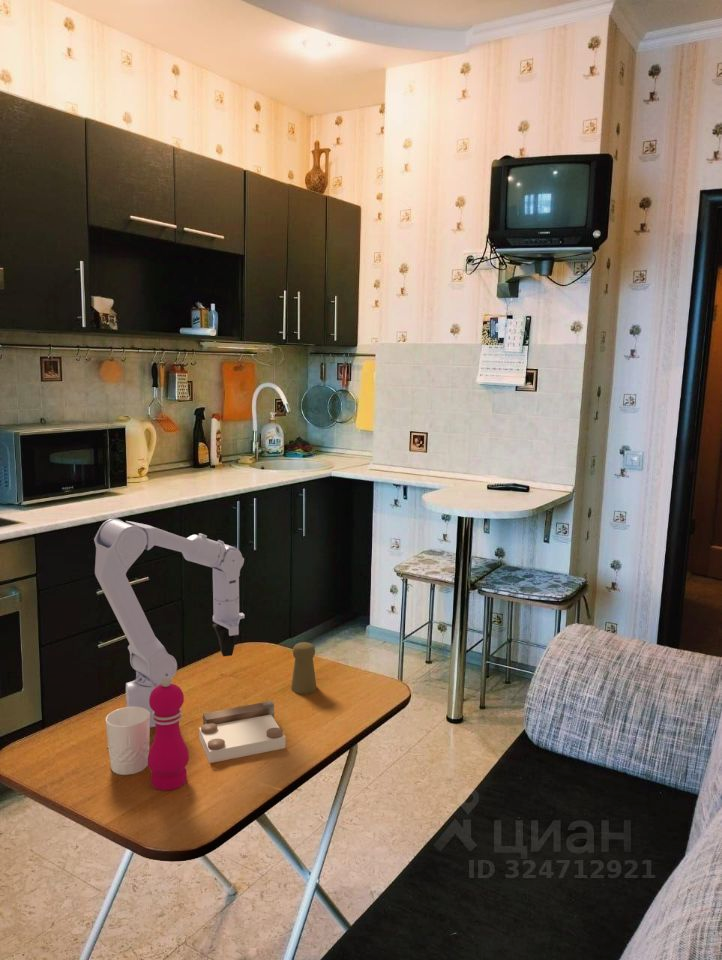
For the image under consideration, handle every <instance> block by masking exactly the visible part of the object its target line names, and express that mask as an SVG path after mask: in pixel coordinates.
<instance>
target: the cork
mask: <svg viewBox="0 0 722 960" xmlns="http://www.w3.org/2000/svg"><path fill="white" fill-rule="evenodd" d="M292 656H293V658H294V662H293V663H294V664H293V665H294V666H293V672H292V679H291V688H290V690H291V691H292V692H293V693H295V694H298V695H309V694H313V693H314V692H316V691H317V688H318V687H317V680H316V672H315V665H314V657H315V656H316V649H315V646H314V644H312V643H310V642H307V641H304V642H303V641H301V642H298V643H296V644H294V646H293V648H292Z"/></svg>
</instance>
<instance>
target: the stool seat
mask: <svg viewBox="0 0 722 960" xmlns="http://www.w3.org/2000/svg"><path fill="white" fill-rule="evenodd" d="M198 732H199V733H198V737H199V741H200V743H201V745H202V747H203V750H204V753H205V755H206V757H207V760H208V763H209V764H212V763H216V762H222V761H227V760H231V759H239V758H242V757H246V756H251V755H257V754H262V753H267V752H272V751H278V750H283V749H286V745H287V744H286V735H285V734H284V730H283V729H282V728H280V725H279V724H278V723H277V721H276V719H275V717H274V718H273V717H272V715H265V716H260V717H254V718H249V719H243V720H238V721H232V722H227V723H221V724H214V723H207V724H204V725H203V724H202V725H201V726H200V727H198Z"/></svg>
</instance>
